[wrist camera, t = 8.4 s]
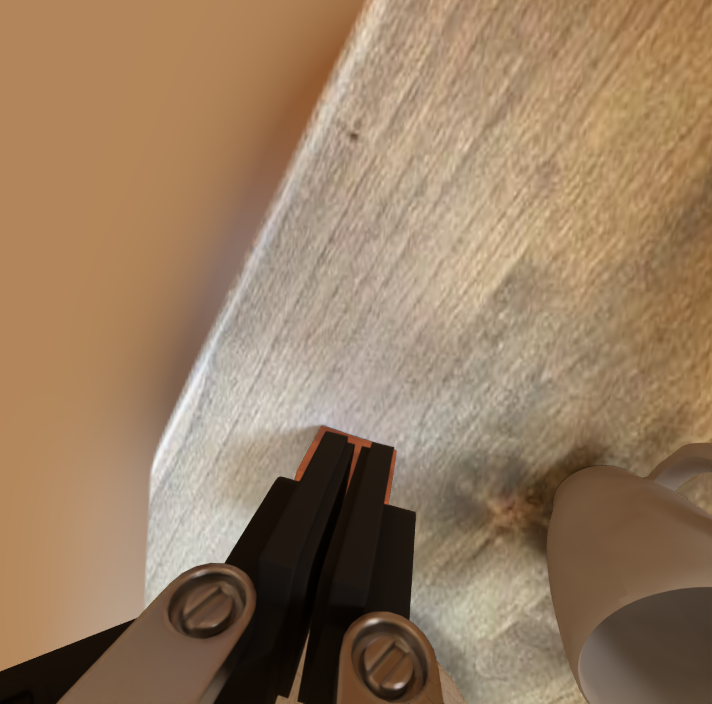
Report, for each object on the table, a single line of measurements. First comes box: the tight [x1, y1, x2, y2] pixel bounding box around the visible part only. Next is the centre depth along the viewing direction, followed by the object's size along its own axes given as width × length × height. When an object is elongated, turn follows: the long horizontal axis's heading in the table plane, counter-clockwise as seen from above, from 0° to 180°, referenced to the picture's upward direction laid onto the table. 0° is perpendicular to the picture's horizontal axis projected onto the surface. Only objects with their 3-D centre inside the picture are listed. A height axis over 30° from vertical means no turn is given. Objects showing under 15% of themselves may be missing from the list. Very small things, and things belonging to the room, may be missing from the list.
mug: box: [547, 443, 712, 704], centre depth 19 cm, size 12×9×10 cm
